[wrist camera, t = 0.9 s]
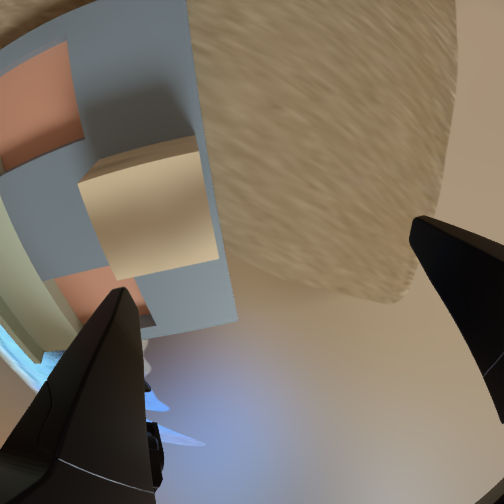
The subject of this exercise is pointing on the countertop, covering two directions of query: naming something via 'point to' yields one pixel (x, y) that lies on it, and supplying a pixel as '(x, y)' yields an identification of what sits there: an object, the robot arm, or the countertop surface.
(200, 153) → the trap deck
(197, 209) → the maple block
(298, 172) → the countertop surface
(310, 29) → the countertop surface
